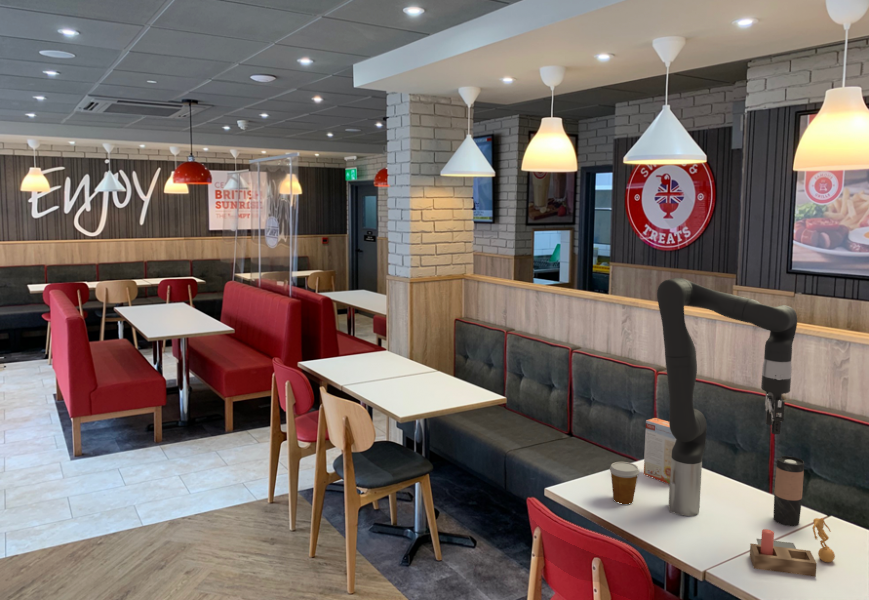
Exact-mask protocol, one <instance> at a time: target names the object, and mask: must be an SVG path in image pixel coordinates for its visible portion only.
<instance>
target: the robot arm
mask: <svg viewBox="0 0 869 600" xmlns="http://www.w3.org/2000/svg"><path fill="white" fill-rule="evenodd" d="M656 299H657V304H658V309H659V313H660V318H661V319H660V320H661V324H662V335H663V345H664V346H663V347H664V356H665V357H664V359H665V369H666V378H667V386H668V387H667V389H668V396H669V414H668V415H669V417H668V422H669V425H670V430H671V433H672V434H673V436H674V437H675V438H676V442H675V445H674V447H673V449H672V456H671V477H670V484H668V485H669V486H668V487H669V488H668V489H669V490H668V511H669V513H674V514H676V515H680V516H683V517H684V516H685V517H694V516H697V515H699V513H700V507H701V506H700V504H701V486H702V471H703V470H702V469H703V456H704V453H705V450H706V441H707V430H708V429H707V419H706V418H705V415H704V414H703V413H702V412H701V411H700V410H698V409H697V408H694V390H695V386H696V381H697V374H698V373H697V372H698V363H697V351H696V347H695V343H694V341H693V339H692V336H691V335H690V333H689V330H688V329H687V326H686V320H685V307H686V306H687V307H689V306H690V307H698V308H704V309H706V310H709V311H712V312H714V313H716V314H719V315H721V316H723V317H726V318H728V319H731V320H735V321H740V322H743V323H747V324H752V325H754V326H756V327H758V328H761V329H763V330H766V331H769V336H768V338H767V340H765V341H766V342H765V345H764V355H763V363H762V371H761V382H760V383H761V386H760V389H761V390H762V391H763V392H765V397H764V400H765V401H764V408H765V409H764V410H765V412H766V414H765V415H766V416H765V424H766V425H767V426H771V428H770V432H771V434H773V435H780V434H781V426H782V424H781V423H782V422H784V420H785V403H786V401H785V400H784V398H783V397H782V396H783V394H789V393H790V392H791V384H792V383H791V382H792V370H793V369H792V357H793V356H792V355H793V343H794V341H795V340H794V339H795V335H796V331H797V326H798V315H797V312H796V310H795V309H794V308H793V307H791V306H789V305H785V304H783V305H778V306H772V305H767V304H763V303H761V302H760V301H758V300H757V299H752V298H748V297H743V296H740V295H735V294H731V293H727V292H722V291H719V290H714V289H712V288H708V287H705V286H703V285H700V284H698V283H695V282H693V281H690V280H689V279H686V278H683V277H674V278H669V279H665V280H663V281H662V282H661V283H660V284H659V286H658V287H657V291H656ZM777 415H778V416H777Z"/></svg>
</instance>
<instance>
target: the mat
mask: <svg viewBox="0 0 869 600" xmlns="http://www.w3.org/2000/svg"><path fill="white" fill-rule="evenodd" d="M756 541H757V542H756V543H757V544H760V545H761V538H756ZM773 546H776V547H784V548H792V549H797V548H796V547H797V546H796V545H795V543H794V542H788V541H781V540H774V542H773Z"/></svg>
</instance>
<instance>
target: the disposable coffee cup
mask: <svg viewBox="0 0 869 600" xmlns="http://www.w3.org/2000/svg"><path fill="white" fill-rule="evenodd" d="M609 471H610V473H611V474H610V477H611V488H612V499H614V500H615V501H616V502H619V503H622V504H629V503H632V502H634V497H635V493H636V486H637V481H638V475H639V474H640V469H639V467H638V465H637V464H634V463H631V462H627V461H616V462H613V463H611V464H610V467H609ZM614 500H613V501H614ZM615 501H614V502H615ZM616 502H615V503H616ZM622 504H621V505H622ZM632 504H633V503H632ZM629 505H630V504H629Z"/></svg>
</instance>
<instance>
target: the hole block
mask: <svg viewBox="0 0 869 600" xmlns="http://www.w3.org/2000/svg"><path fill="white" fill-rule="evenodd" d="M749 544H750V545H749V548H750V549H749V559H750V561H751V564H752V567H753V569H755V570H764V571H771V572H776V573H777V572H779V573H784V574H791V575H792V574H793V575H801V576H806V577H807V576H808V577H814V578H815V577H816V576H817V564H818V563H817V561H816V559H815V557H814V555H813V553H812V551H811V550H806V549H802V548H801V549H800V548H796V549H792V548H784V547H776V546H773V556H771V555H763V554H760V552H761V545H760V544H758V543H749Z"/></svg>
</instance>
